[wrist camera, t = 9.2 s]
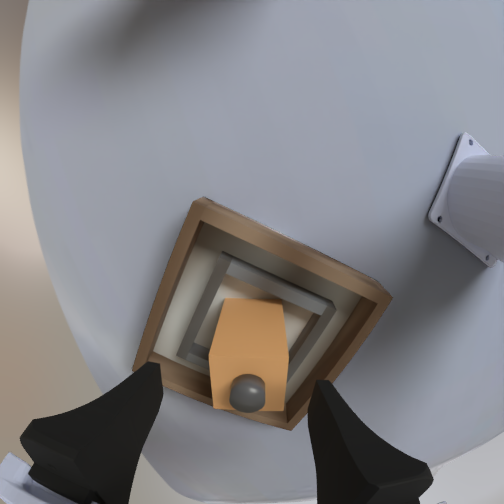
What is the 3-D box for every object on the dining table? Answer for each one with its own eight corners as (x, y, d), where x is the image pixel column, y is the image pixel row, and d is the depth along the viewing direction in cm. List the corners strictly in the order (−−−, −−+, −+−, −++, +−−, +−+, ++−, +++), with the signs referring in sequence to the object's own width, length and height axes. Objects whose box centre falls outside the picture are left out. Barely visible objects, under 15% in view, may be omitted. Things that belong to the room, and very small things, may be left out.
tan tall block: (281, 299, 21) (290, 372, 13) (278, 345, 22) (284, 425, 14) (225, 297, 21) (204, 369, 13) (226, 344, 22) (210, 423, 14)
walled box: (377, 281, 20) (392, 297, 18) (289, 407, 24) (291, 430, 21) (203, 196, 19) (193, 201, 16) (144, 350, 23) (131, 370, 20)
